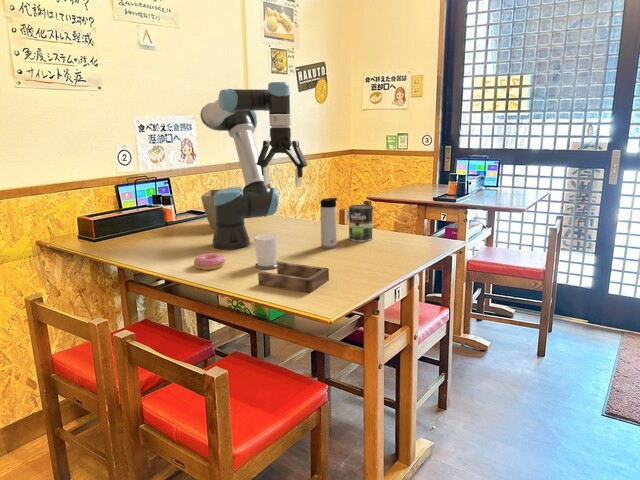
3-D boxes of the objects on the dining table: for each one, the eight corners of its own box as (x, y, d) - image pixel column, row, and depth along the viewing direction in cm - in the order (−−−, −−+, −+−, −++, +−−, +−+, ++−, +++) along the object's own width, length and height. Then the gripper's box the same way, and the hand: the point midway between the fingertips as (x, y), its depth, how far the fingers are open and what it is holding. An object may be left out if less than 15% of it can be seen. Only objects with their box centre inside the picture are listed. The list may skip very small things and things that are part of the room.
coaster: (250, 267, 174) (250, 266, 174) (264, 261, 182) (264, 259, 181) (272, 270, 170) (272, 269, 170) (285, 263, 178) (285, 262, 177)
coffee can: (369, 242, 205) (369, 209, 201) (345, 240, 209) (345, 208, 205) (375, 237, 214) (376, 205, 210) (353, 235, 218) (353, 203, 214)
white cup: (256, 261, 179) (255, 234, 177) (278, 260, 180) (277, 233, 177) (255, 267, 172) (254, 240, 169) (278, 266, 172) (277, 239, 170)
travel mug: (336, 249, 196) (335, 199, 191) (319, 248, 197) (318, 199, 192) (338, 245, 202) (338, 196, 197) (322, 244, 203) (322, 196, 198)
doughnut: (195, 272, 170) (194, 261, 169) (193, 264, 180) (192, 253, 179) (226, 269, 173) (226, 258, 172) (223, 261, 183) (223, 250, 182)
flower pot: (243, 230, 230) (241, 195, 226) (203, 231, 230) (200, 195, 226) (249, 222, 248) (247, 188, 244) (212, 222, 249) (209, 189, 245)
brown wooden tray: (258, 284, 156) (258, 272, 155) (279, 273, 167) (279, 261, 166) (310, 293, 148) (310, 280, 147) (328, 280, 159) (328, 268, 158)
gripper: (245, 127, 180) (248, 185, 185) (305, 127, 169) (307, 188, 174) (256, 126, 186) (259, 182, 192) (315, 126, 175) (316, 185, 181)
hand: (282, 185), depth 183 cm, fingers open, 13 cm apart
